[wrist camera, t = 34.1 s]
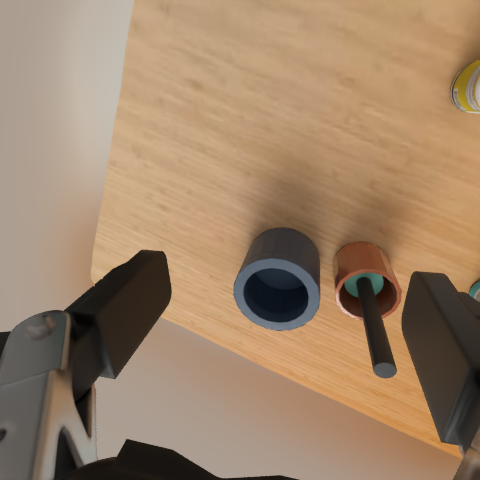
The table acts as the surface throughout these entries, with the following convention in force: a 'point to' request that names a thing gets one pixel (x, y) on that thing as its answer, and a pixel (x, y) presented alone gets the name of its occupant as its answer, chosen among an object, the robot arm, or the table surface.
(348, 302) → the crock
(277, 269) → the jar
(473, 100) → the supplement bottle
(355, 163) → the table surface
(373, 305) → the sponge wand
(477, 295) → the tube
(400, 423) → the table surface
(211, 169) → the table surface
